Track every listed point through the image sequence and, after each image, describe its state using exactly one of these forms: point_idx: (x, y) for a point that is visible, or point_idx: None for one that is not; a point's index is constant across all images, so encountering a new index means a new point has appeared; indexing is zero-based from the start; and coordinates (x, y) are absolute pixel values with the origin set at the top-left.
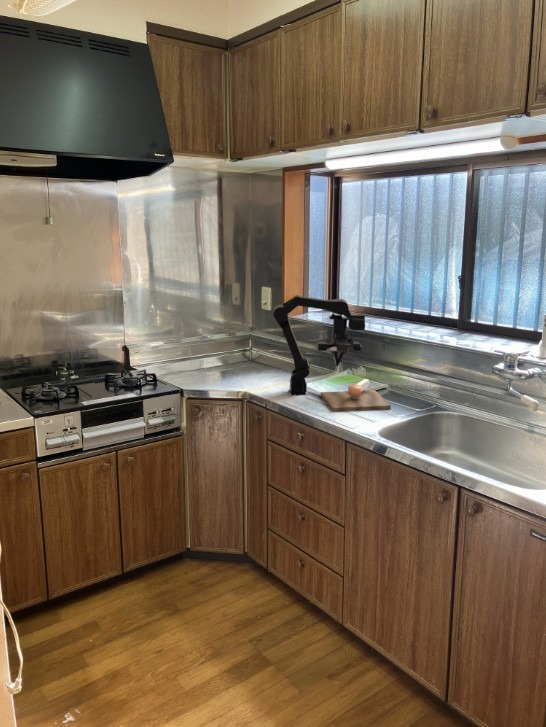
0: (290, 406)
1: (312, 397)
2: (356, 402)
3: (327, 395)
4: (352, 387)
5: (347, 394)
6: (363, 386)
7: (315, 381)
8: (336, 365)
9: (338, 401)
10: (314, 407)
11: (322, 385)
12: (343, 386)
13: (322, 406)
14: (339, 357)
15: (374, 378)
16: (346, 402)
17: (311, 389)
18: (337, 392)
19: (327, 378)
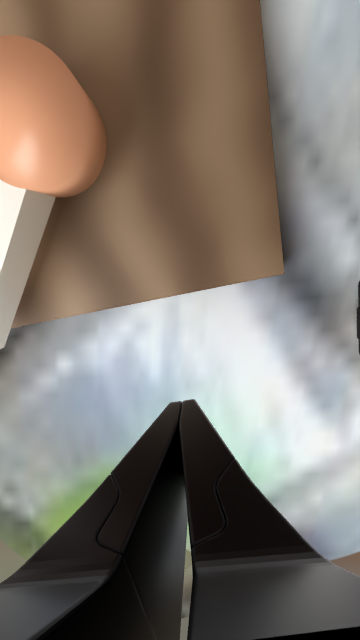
0: None
1: (327, 240)
2: (51, 48)
3: (248, 207)
4: (46, 97)
5: (117, 241)
6: None
7: (269, 488)
8: (194, 400)
9: (183, 63)
10: (353, 11)
11: (242, 438)
12: (139, 430)
13: (293, 44)
14: (142, 494)
15: (2, 535)
16: (125, 41)
17: (308, 377)
18: (178, 276)
19: None
